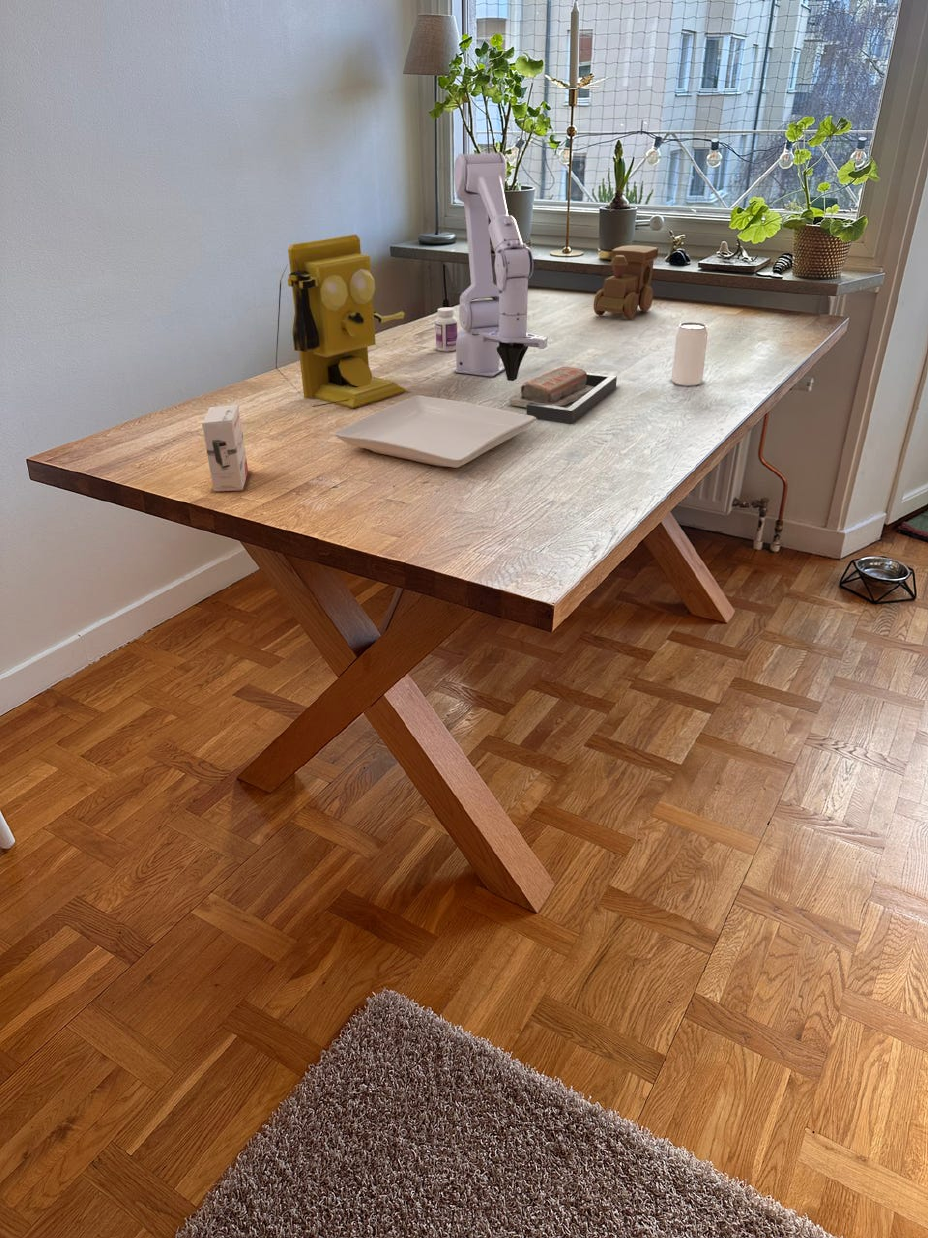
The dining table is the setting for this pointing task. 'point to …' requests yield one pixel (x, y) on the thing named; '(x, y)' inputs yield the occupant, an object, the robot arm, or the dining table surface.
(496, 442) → the square plate
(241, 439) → the ink box
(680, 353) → the can
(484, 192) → the robot arm
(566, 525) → the dining table surface
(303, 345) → the vintage telephone
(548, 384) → the packaged product
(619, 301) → the wooden toy train
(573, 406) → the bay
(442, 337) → the pill bottle
